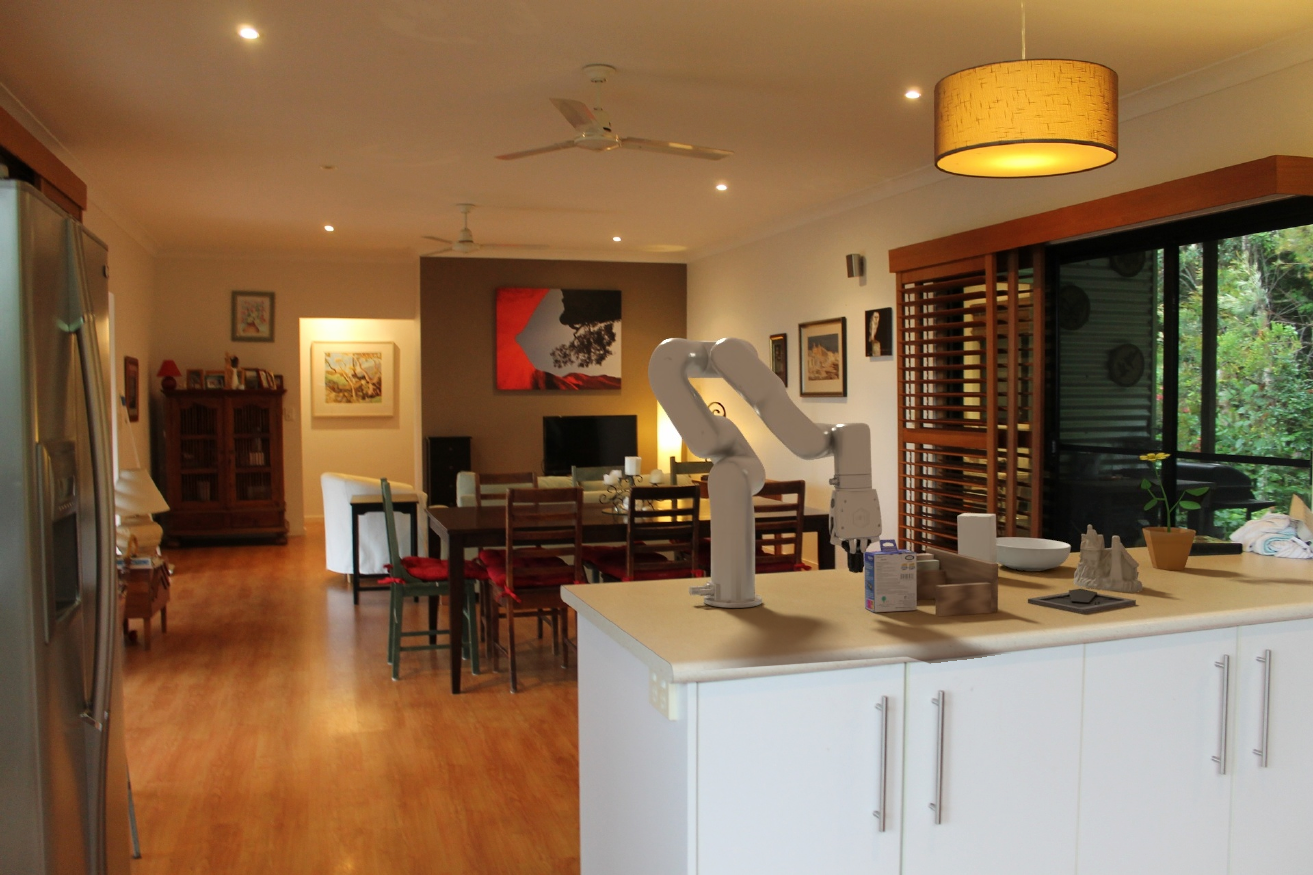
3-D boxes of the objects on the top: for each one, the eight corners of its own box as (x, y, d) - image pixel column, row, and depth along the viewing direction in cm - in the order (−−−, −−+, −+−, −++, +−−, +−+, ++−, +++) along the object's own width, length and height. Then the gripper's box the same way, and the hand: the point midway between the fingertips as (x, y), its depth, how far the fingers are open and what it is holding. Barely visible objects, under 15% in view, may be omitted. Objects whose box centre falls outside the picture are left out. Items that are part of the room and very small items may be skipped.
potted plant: (1115, 563, 265) (1116, 452, 264) (1180, 562, 267) (1181, 451, 266) (1155, 574, 248) (1157, 455, 247) (1225, 573, 250) (1227, 454, 249)
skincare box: (997, 576, 246) (998, 513, 246) (991, 580, 240) (991, 516, 240) (963, 573, 251) (964, 512, 250) (956, 576, 245) (956, 514, 245)
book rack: (939, 616, 199) (940, 567, 199) (878, 594, 222) (879, 550, 222) (997, 612, 203) (998, 563, 203) (931, 590, 226) (932, 547, 226)
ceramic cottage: (1131, 593, 222) (1131, 527, 223) (1060, 586, 234) (1060, 523, 235) (1159, 589, 233) (1159, 525, 233) (1089, 583, 245) (1090, 522, 245)
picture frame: (1080, 597, 222) (1027, 606, 212) (1080, 588, 222) (1027, 596, 212) (1135, 607, 210) (1082, 617, 201) (1135, 598, 210) (1082, 607, 201)
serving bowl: (1047, 578, 243) (1047, 550, 243) (970, 568, 259) (970, 542, 258) (1084, 568, 257) (1085, 542, 257) (1009, 559, 273) (1009, 534, 272)
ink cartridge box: (905, 605, 210) (905, 538, 209) (918, 611, 205) (918, 541, 204) (862, 608, 208) (863, 539, 207) (874, 613, 202) (874, 543, 202)
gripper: (828, 485, 197) (831, 577, 197) (895, 482, 201) (897, 571, 201) (812, 483, 204) (814, 572, 204) (876, 480, 208) (879, 566, 209)
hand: (856, 571), depth 203 cm, fingers closed
